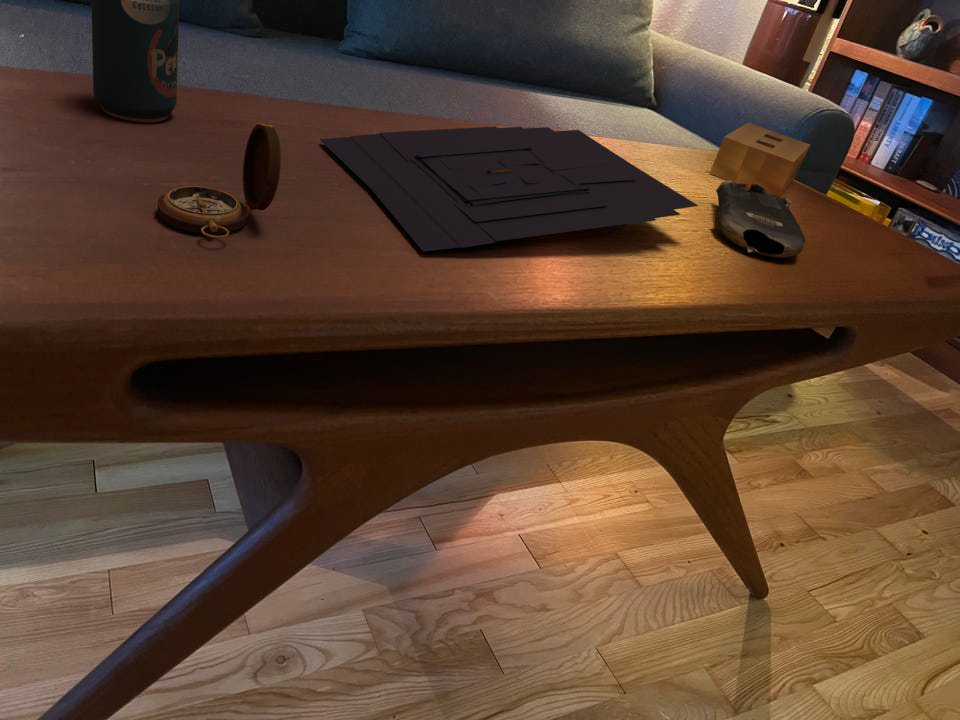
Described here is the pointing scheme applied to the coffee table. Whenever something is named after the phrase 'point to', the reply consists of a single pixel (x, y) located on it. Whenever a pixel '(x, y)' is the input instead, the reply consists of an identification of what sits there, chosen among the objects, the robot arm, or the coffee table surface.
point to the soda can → (135, 57)
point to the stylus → (820, 33)
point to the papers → (501, 183)
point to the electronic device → (758, 220)
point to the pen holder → (759, 158)
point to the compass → (219, 208)
